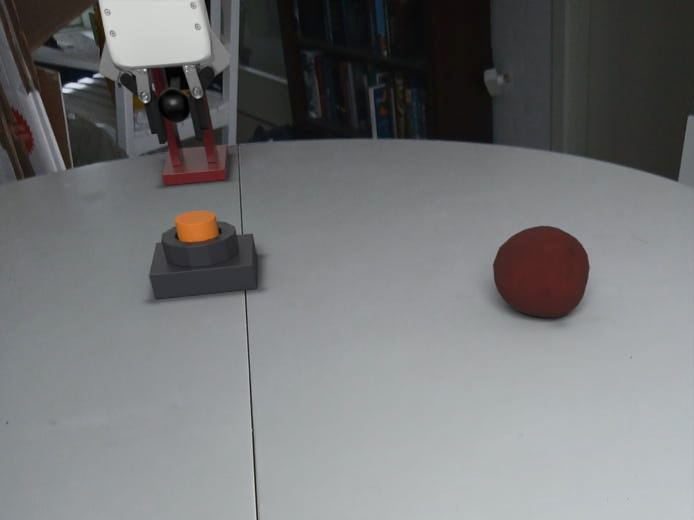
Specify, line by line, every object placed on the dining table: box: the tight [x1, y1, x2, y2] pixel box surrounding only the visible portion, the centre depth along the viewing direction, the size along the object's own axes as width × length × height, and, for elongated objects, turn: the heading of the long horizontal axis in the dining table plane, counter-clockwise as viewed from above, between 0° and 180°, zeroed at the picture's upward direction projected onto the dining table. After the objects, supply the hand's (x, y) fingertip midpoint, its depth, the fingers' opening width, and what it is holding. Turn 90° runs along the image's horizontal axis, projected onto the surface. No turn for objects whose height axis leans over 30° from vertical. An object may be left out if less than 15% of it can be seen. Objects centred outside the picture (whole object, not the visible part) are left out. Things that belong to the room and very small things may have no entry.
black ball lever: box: [159, 66, 191, 123], centre depth 106 cm, size 12×3×3 cm, turn 10°
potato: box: [492, 225, 591, 319], centre depth 81 cm, size 7×8×7 cm
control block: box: [148, 220, 258, 300], centre depth 90 cm, size 9×8×4 cm
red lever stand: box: [150, 63, 230, 186], centre depth 112 cm, size 10×7×12 cm
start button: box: [174, 210, 219, 242], centre depth 88 cm, size 4×4×2 cm
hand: (181, 137), depth 106 cm, fingers closed on black ball lever, 3 cm apart
